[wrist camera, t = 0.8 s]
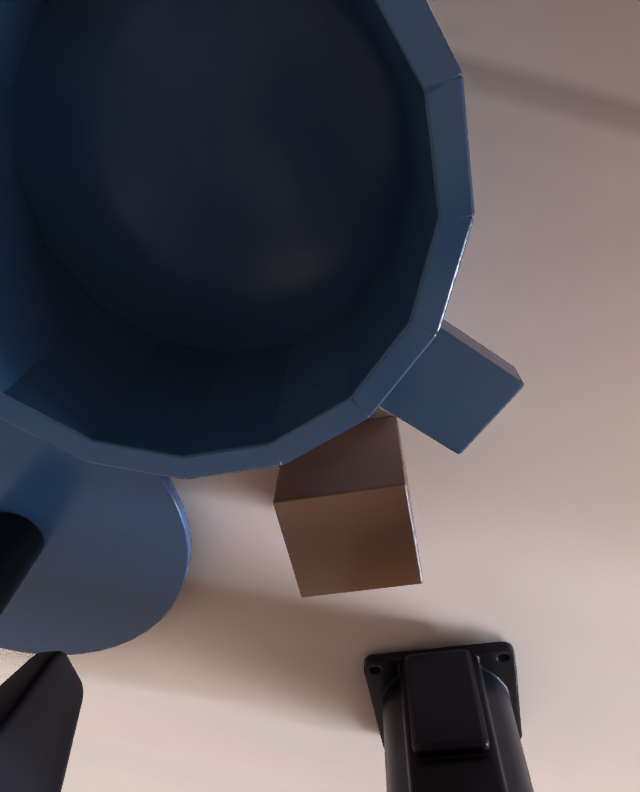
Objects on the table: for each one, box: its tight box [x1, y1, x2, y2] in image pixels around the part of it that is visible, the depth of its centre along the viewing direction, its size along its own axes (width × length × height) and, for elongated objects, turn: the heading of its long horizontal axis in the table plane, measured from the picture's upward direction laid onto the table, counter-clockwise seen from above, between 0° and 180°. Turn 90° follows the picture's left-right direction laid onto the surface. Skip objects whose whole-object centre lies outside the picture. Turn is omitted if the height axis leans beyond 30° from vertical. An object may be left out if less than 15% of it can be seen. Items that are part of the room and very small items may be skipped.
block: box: [273, 416, 423, 597], centre depth 20 cm, size 4×4×4 cm
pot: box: [0, 0, 524, 479], centre depth 15 cm, size 12×18×6 cm
